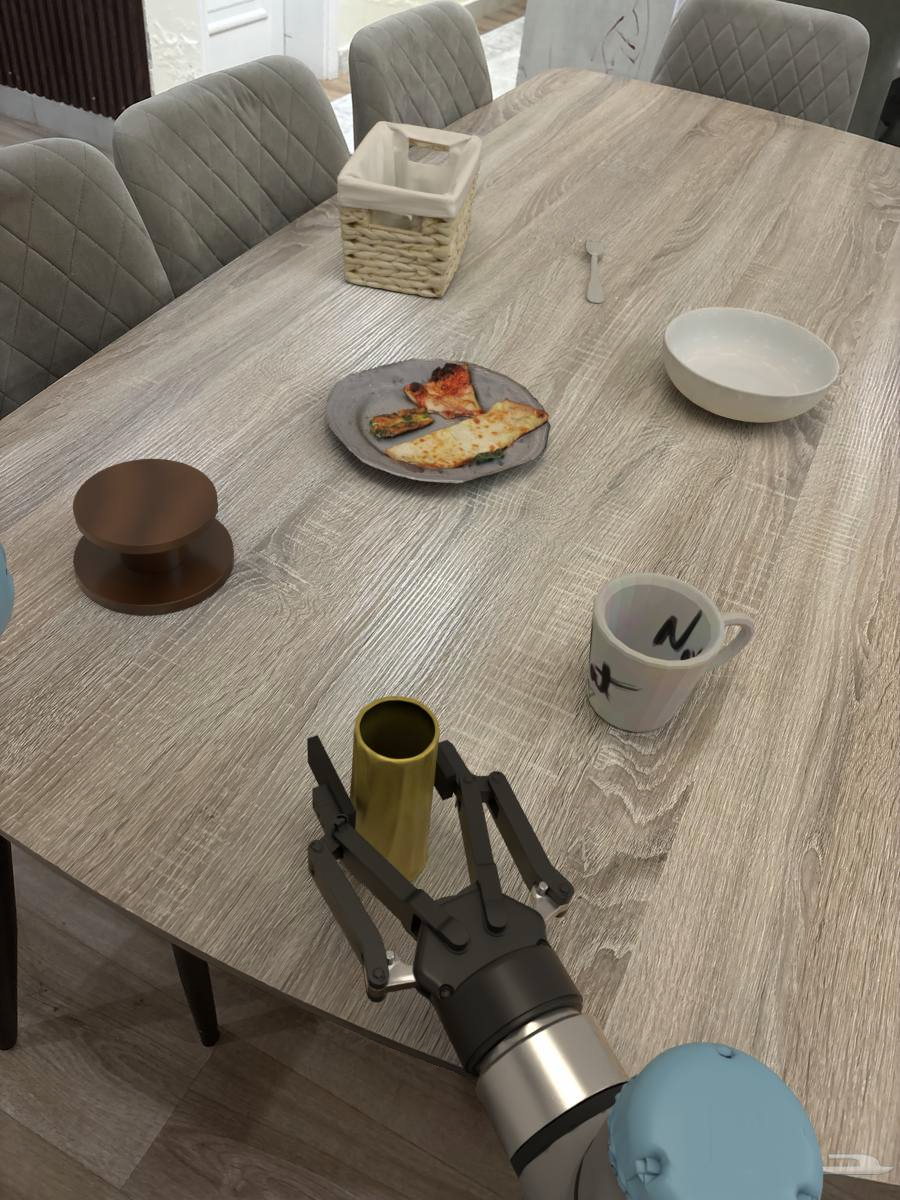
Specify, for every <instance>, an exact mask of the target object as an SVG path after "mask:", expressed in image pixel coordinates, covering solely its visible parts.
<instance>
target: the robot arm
mask: <svg viewBox="0 0 900 1200" xmlns="http://www.w3.org/2000/svg"><path fill="white" fill-rule="evenodd" d="M14 585H15V584H14V578H13V576H12V574H11V573H10V571H9V569H8V567H7V553H6V551H5V548H4V546H3V544H2V542H1V541H0V639H1V638H2V637H3V634H4V633H5V631H6V629H7V628H8V625H9V623H10V620H11V618H12V614H13V610H14V607H15V586H14ZM306 740H307V741H306V744H307V745H306V747H307V748H306V749H307V751H306V753H307V764H308V766H309V769H310V770H311V773H312V775H313V777H314V780H315V781H316V783H317V785H318V786H315V787H312V791H311V795H312V796H311V797H312V798H311V801H312V803H311V805H312V807H311V808H312V810H313V812H314V814H315V817H316V818H317V820H318V823H319V825H320V828H321V829H322V831H323V833H324V835H322V836H321V838H319V839H317V838H316V839H313V840H312V841H310V842H309V844H308V845H307V870H308V873H309V875H310V877H311V879H312V880H313V882H314V883H315V886H316V887H317V889H318V891H319V893H320V894H321V896H322V898H323V900H324V901H325V903H326V905H327V906H328V908H329V910H330V912H331V914H332V916H333V917H334V919H335V921H336V922H337V924H338V926H339V928H340V930H341V932H342V933H343V935H344V937H345V938H346V940H347V942H348V944H349V946H350V947H351V950H352V951H353V953H354V954H355V956H356V959H357V960H358V962H359V963H360V965H361V968H362V974H363V975H362V976H363V981H364V987H365V995H366V997H367V999H368V1000H369V1001H370V1002H372V1003H377V1004H379V1003H382V1002H383V1001H384V1000H385V999H386V998H387V995H388V994H390V993H395V992H402V991H405V990H412V989H415V991H416V992H417V993H418V994H419V995H421V996H422V997H423V998H424V999H426V1000H427V1001H428V1002H429V1003H430V1004H431V1005H432V1007H433V1009H434V1011H435V1012H436V1014H437V1016H438V1019H439V1022H440V1023H441V1025H442V1028H443V1030H444V1031H445V1034H446V1035H447V1037H448V1040H449V1041H450V1044H451V1046H452V1049H453V1050H454V1052H455V1054H456V1056H457V1058H458V1061H459V1062H460V1064H461V1067H462V1069H463V1070H464V1072H465V1073H466V1074H468V1075H471V1076H472V1077H474V1078H478V1079H477V1081H476V1085H475V1089H474V1093H475V1094H476V1096H477V1099H478V1100H479V1103H480V1104H481V1106H482V1109H483V1110H484V1113H485V1115H486V1117H487V1120H488V1121H489V1123H490V1125H491V1127H492V1129H493V1131H494V1134H495V1136H496V1138H497V1139H498V1142H499V1144H500V1146H501V1148H502V1151H503V1152H504V1154H505V1156H506V1158H507V1161H508V1163H509V1164H510V1165H511V1167H512V1169H513V1171H514V1173H515V1174H516V1176H517V1179H518V1181H519V1183H520V1185H521V1187H522V1189H523V1192H524V1193H525V1195H526V1198H527V1200H821V1199H822V1195H823V1194H822V1193H823V1186H824V1164H823V1158H822V1157H823V1156H822V1151H821V1146H820V1144H819V1140H818V1136H817V1133H816V1131H815V1128H814V1125H813V1123H812V1121H811V1119H810V1117H809V1115H808V1113H807V1111H806V1110H805V1108H804V1106H803V1104H802V1103H801V1100H800V1099H799V1098H798V1097H797V1096H796V1094H795V1092H793V1090H792V1089H791V1088H790V1086H788V1084H787V1083H786V1082H785V1081H784V1080H783V1079H782V1078H781V1077H780V1076H779V1075H778V1073H776V1072H775V1071H774V1070H773V1069H771V1068H770V1067H769V1066H768V1065H766V1064H765V1063H764V1062H762V1061H760V1060H759V1059H758V1058H756V1057H754V1056H752V1055H751V1054H749V1053H747V1052H745V1051H742V1050H741V1049H738V1048H736V1047H733V1046H729V1045H727V1044H725V1043H717V1042H709V1041H694V1042H693V1041H692V1042H687V1043H682V1044H679V1045H675V1046H672V1047H670V1048H668V1049H666V1050H664V1051H662V1052H660V1053H659V1054H658V1055H656V1056H655V1057H654V1058H652V1059H651V1060H650V1061H649V1062H648V1063H647V1064H646V1065H645V1066H644V1067H643V1068H642V1069H641V1070H640V1072H639V1073H637V1074H634V1075H633V1076H630V1075H629V1073H628V1072H627V1070H626V1068H625V1066H624V1065H623V1064H622V1061H621V1060H620V1058H619V1056H618V1055H617V1053H616V1051H615V1049H614V1047H613V1046H612V1044H611V1041H610V1040H609V1039H608V1037H607V1036H606V1034H605V1032H604V1030H603V1028H602V1027H601V1025H600V1023H599V1022H598V1019H597V1018H596V1016H595V1015H593V1014H592V1013H588V1012H582V1011H583V1008H584V1007H583V1006H584V1005H583V1003H584V997H583V996H582V994H581V992H580V990H579V988H578V987H577V985H576V984H575V982H574V980H573V979H572V977H571V975H570V974H569V972H568V970H567V969H566V967H565V966H564V964H563V961H562V960H561V959H560V957H559V955H558V954H557V952H556V950H555V949H554V948H553V947H552V946H551V944H550V942H549V940H548V937H547V936H548V935H547V925H548V924H549V923H550V922H552V920H554V918H557V919H560V918H563V917H565V916H566V915H567V913H568V910H569V908H570V905H571V902H572V900H573V897H574V895H575V888H574V885H573V884H572V883H571V882H570V881H569V880H568V879H567V878H566V877H565V876H564V875H563V874H562V873H561V872H560V871H559V870H558V869H557V868H556V867H555V866H554V865H553V864H552V863H551V861H550V859H549V857H548V855H547V853H546V851H545V849H544V848H543V846H542V844H541V842H540V840H539V838H538V836H537V834H536V832H535V830H534V828H533V827H532V825H531V823H530V821H529V819H528V817H527V815H526V813H525V811H524V809H523V807H522V805H521V803H520V802H519V799H518V798H517V796H516V794H515V792H514V790H513V787H512V785H510V783H509V780H508V779H507V777H506V775H505V774H504V773H503V772H502V771H499V770H493V771H491V772H490V773H489V774H488V775H477V774H475V773H472V772H471V771H470V770H469V767H468V766H467V764H466V763H465V761H464V760H463V758H462V756H461V755H460V753H459V752H458V750H457V748H456V747H455V745H454V743H452V742H451V741H450V740H448V739H445V740H442V741H439V744H438V751H437V759H436V769H435V779H434V789H435V790H436V792H437V794H438V795H439V797H440V798H441V800H442V801H446V800H448V799H451V798H453V797H454V796H455V801H454V808H456V809H457V816H458V821H459V826H460V833H461V839H462V845H463V849H464V850H463V851H464V854H465V860H466V865H467V871H468V872H467V873H468V878H469V885H468V886H467V885H466V886H465V887H464V888H462V890H460V891H459V892H458V893H456V894H455V895H448V896H443V897H439V898H438V899H434V898H433V897H431V895H430V894H429V893H427V892H426V891H425V890H424V889H422V888H417V887H416V886H415V885H414V884H412V881H410V882H409V881H408V880H407V879H406V878H405V877H404V876H403V875H402V874H401V873H400V872H399V871H398V870H397V869H396V868H395V867H394V866H393V865H392V864H391V863H390V862H389V861H387V860H386V859H385V858H384V857H383V856H382V855H381V854H380V853H379V852H378V851H377V850H376V849H375V848H374V847H373V846H372V845H371V844H370V843H369V842H368V841H367V840H365V839H364V838H363V837H362V836H361V835H360V834H359V833H358V832H357V831H356V830H355V827H356V810H355V808H354V806H353V804H352V802H351V800H350V795H349V794H348V792H347V790H346V788H345V786H344V784H343V782H342V781H341V779H340V776H339V774H338V772H337V770H336V768H335V766H334V765H333V762H332V761H331V758H330V757H329V754H328V752H327V751H326V748H325V746H324V744H323V743H322V740H321V739H320V737H319V734H316V735H313V736H310V737H308V738H306ZM483 804H485V806H486V808H487V810H488V811H489V815H490V816H491V818H492V820H493V822H494V824H495V826H496V828H497V830H498V832H499V835H500V836H501V838H502V840H503V842H504V844H505V847H506V848H507V851H508V852H509V855H510V856H511V859H512V861H513V862H514V865H515V867H516V869H517V870H518V872H519V875H520V877H521V879H522V881H523V883H524V884H525V887H526V888H527V890H528V892H529V902H530V903H531V905H532V907H531V906H529V905H528V904H525V903H523V902H521V901H519V900H518V899H515V898H514V897H512V896H509V895H507V894H505V893H503V890H502V886H501V885H502V884H501V881H500V880H501V879H500V876H499V871H498V865H497V864H496V863H495V860H494V855H493V854H494V853H493V850H492V846H491V841H490V834H489V830H488V823H487V820H486V815H485V814H486V813H485V810H484V805H483ZM338 861H339V862H338ZM339 863H341V864H342V865H343V866H344V867H345V868H346V870H348V871H349V872H350V874H351V875H353V876H354V877H355V878H356V879H357V880H358V882H360V883H361V884H362V886H364V887H365V888H366V889H367V890H368V891H369V892H370V893H371V894H372V895H373V896H374V897H375V898H376V900H378V901H379V902H380V903H381V904H382V905H383V906H384V907H385V908H386V909H387V910H388V911H389V912H390V913H391V914H392V915H393V916H394V917H395V918H397V920H399V922H400V923H401V926H402V928H403V929H404V931H405V933H407V934H408V935H409V936H410V937H411V939H413V940H414V941H415V942H416V947H415V951H414V957H413V962H412V964H408V963H405V962H403V960H401V958H400V955H399V954H398V953H397V951H395V950H393V949H386V946H385V943H384V941H383V938H382V936H381V933H380V932H379V930H378V928H377V926H376V925H375V922H374V921H373V920H372V918H371V915H370V914H369V913H368V911H367V909H366V907H365V906H364V903H362V901H361V898H360V897H359V896H358V894H357V892H356V891H355V889H354V887H353V885H352V884H351V882H350V881H349V879H348V877H347V875H346V874H345V873H344V871H343V869H342V867H341V866H340V864H339Z"/></svg>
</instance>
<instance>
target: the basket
mask: <svg viewBox="0 0 900 1200" xmlns="http://www.w3.org/2000/svg"><path fill="white" fill-rule="evenodd" d="M410 147H413V148H420V149H428V150H430V151H431V150H434V151H435V152H438V151H439V152H446V153H448V164H447V165H435V164H430V163H424V162H419V161H413V160H410V158H409V153H410ZM483 152H484V142H483V140H482V139H481V138H480V136H478V135H471V134H465V133H461V132H456V131H450V130H445V129H438V128H433V127H432V128H431V127H426V126H420V125H415V124H409V123H397V122H391V121H385V120H384V121H383V120H382V121H380V120H379V121H378V122H376V123H375V124H374V126H372V128H371V129H370V130H369V131H368V132H367V134H366V135H365V136H364V138H363V139H362V140H361V141H360V143H359V144H358V145H357V147H356V149H355V150H354V152H353V153H352V155H351V156H350V157H349V159H348V160H347V161H346V162H345V164H344V166H343V167H342V168H341V170H340V172H339V174H338V175H337V179H336V181H337V186H336V190H337V193H336V204H337V209H338V212H339V222H340V225H339V227H340V238H341V245H340V246H341V254H342V259H343V262H344V264H343V269H344V270H343V272H344V273H343V274H344V279H345V280H346V281H347V282H348V283H350V284H354V285H360V286H366V287H370V288H375V289H383V290H387V291H392V292H397V293H398V292H399V293H400V292H401V293H404V294H410V295H419V296H420V297H426V298H443V297H444V296H445V294H446V291H447V290H448V288H449V286H450V283H451V282H452V280H453V278H454V273H455V274H456V272H457V271H458V269H459V268H458V266H459V265H460V263H461V259H462V256H463V255H464V250H465V248H466V245H467V241H468V239H469V235H470V234H469V232H470V228H471V227H470V226H471V222H472V219H471V218H472V213H473V212H474V211H473V209H474V205H473V204H475V202H474V200H475V198H476V186H477V181H478V178H479V172H480V168H481V162H482V160H483Z"/></svg>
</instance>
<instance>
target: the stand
mask: <svg viewBox="0 0 900 1200" xmlns="http://www.w3.org/2000/svg"><path fill="white" fill-rule="evenodd" d="M72 511H73V513H72V514H73V517H74V520H75V524H76V527H77V529H78V530H79V532H80V533H81V534H82V535H81V538H80V539H79V541H78V542H77V544H76V546H75V549H74V553H73V559H72V564H73V570H74V574H75V577H76V580H77V583H78V585H79V587H80V588H81V590H82V591H83V592H84V594H85V595H86V596H87V597H88V598H89V599H91V600H92V601H93V602H95V603H96V604H98V605H100V606H102V607H104V608H106V609H109V610H110V611H111V610H112V611H114V612H118V613H122V614H127V615H134V616H135V615H136V616H157V615H165V614H172V613H175V612H179V611H184V610H186V609H189V608H191V607H193V606H197V605H198V604H200V603H202V602H204V601H205V600H207V599H209V598H211V597H212V595H214V594H215V593H216V592H218V591H219V590H220V589H221V588H222V587H223V586H224V585H225V583H226V582H227V581H228V579H229V578H230V575H231V573H232V571H233V568H234V564H235V551H234V550H235V549H234V542H233V539H232V536H231V534H230V532H229V530H228V529H227V528H226V527H225V525H224V524H223V523H222V522H221V521H219V520H218V519H217V518H216V517H217V515H218V511H219V500H218V491H217V489H216V486H215V485H214V483H213V481H212V480H211V479H210V477H209V476H208V475H206V474H205V473H204V472H202V471H201V470H200V469H198V468H196V467H194V466H192V465H189V464H187V463H184V462H181V461H178V460H177V461H176V460H172V459H167V458H140V459H133V460H128V461H123V462H119V463H117V464H113V465H110V466H107V467H106V468H104V469H101V470H100V471H98V472H96V473H94V474H93V475H91V476H90V477H89V478H87V479H86V480H85V481H84V482H83V484H81V485H80V487H79V488H78V490H77V491H76V493H75V495H74V498H73V501H72Z"/></svg>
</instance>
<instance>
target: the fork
mask: <svg viewBox="0 0 900 1200" xmlns="http://www.w3.org/2000/svg"><path fill="white" fill-rule="evenodd" d="M590 240H591V241H590ZM598 241H599V242H598ZM585 250H586V252H588V253H589V252H590V253H598V254H600V255H602V254H604V252H605V243H604V242H603V241H601V240H595V242H594V239H588V240H587V239H586V240H585ZM590 253H589V254H590ZM601 253H602V254H601ZM586 299H587V301H589V302H590V303H592V304H598V305H599V304H601V303H603V302H604V300H605V291H604V289H603V285H602V283H601V278H600V275H599V268H598V259H597V260H596V259H592V258H591V257H590V277H589V281H588V284H587V290H586Z"/></svg>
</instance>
